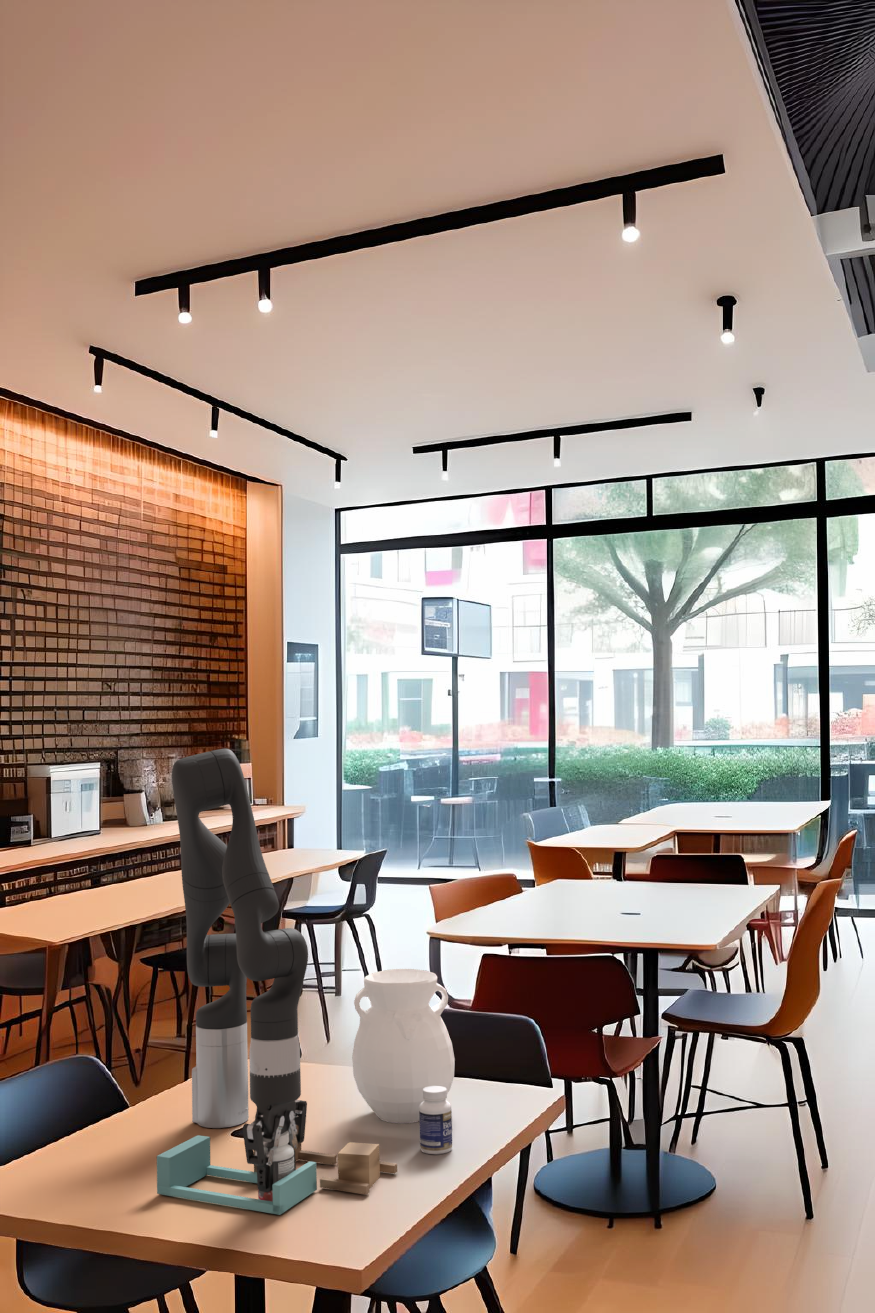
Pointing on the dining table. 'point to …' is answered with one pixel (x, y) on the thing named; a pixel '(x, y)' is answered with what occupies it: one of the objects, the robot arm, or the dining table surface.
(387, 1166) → the walnut lane broken
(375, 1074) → the white vase
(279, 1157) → the pill bottle
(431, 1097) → the pill bottle
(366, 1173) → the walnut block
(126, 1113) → the dining table surface
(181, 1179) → the frame
